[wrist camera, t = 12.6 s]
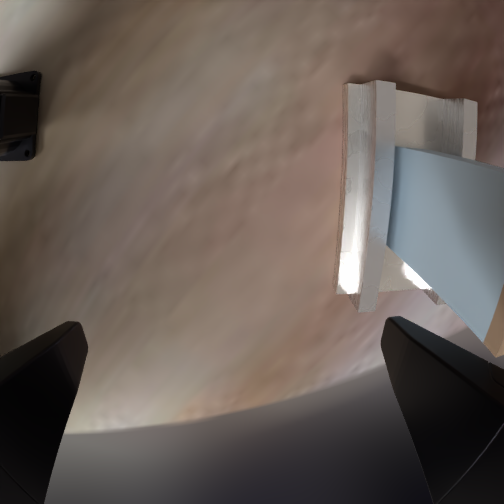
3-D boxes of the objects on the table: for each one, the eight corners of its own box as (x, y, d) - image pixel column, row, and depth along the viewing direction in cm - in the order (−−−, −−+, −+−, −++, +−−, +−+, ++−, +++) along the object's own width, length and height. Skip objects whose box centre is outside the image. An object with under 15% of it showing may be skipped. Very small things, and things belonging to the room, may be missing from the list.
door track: (332, 287, 23) (346, 313, 20) (343, 84, 18) (362, 77, 15) (435, 281, 23) (457, 302, 20) (456, 104, 18) (485, 104, 15)
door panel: (382, 242, 21) (495, 357, 9) (391, 145, 18) (544, 186, 7) (419, 241, 21) (537, 343, 9) (429, 149, 18) (580, 194, 7)
